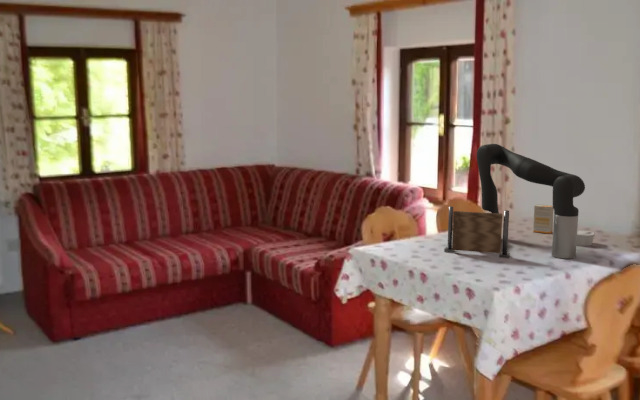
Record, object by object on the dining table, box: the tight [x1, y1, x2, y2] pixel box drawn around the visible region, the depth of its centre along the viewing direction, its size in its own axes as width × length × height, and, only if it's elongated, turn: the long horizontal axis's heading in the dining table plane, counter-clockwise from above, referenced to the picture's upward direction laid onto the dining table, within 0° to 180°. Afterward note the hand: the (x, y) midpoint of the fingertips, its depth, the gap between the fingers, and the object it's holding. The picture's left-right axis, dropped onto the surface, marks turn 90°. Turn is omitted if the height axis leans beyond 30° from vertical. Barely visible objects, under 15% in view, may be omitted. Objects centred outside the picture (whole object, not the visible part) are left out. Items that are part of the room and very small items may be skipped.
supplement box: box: [532, 203, 554, 235], centre depth 318 cm, size 8×5×13 cm, turn 57°
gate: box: [452, 210, 503, 254], centre depth 272 cm, size 19×2×16 cm, turn 74°
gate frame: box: [443, 206, 511, 259], centre depth 274 cm, size 26×4×19 cm, turn 67°
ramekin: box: [576, 229, 596, 247], centre depth 294 cm, size 11×11×5 cm
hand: (475, 237), depth 274 cm, fingers closed
